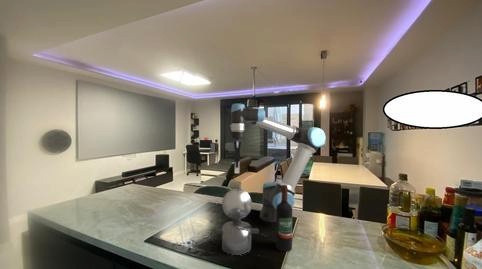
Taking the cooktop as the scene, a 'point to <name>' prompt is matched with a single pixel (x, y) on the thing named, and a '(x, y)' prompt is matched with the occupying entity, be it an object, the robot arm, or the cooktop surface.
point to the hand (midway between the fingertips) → (236, 173)
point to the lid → (236, 204)
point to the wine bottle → (284, 223)
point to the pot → (236, 237)
